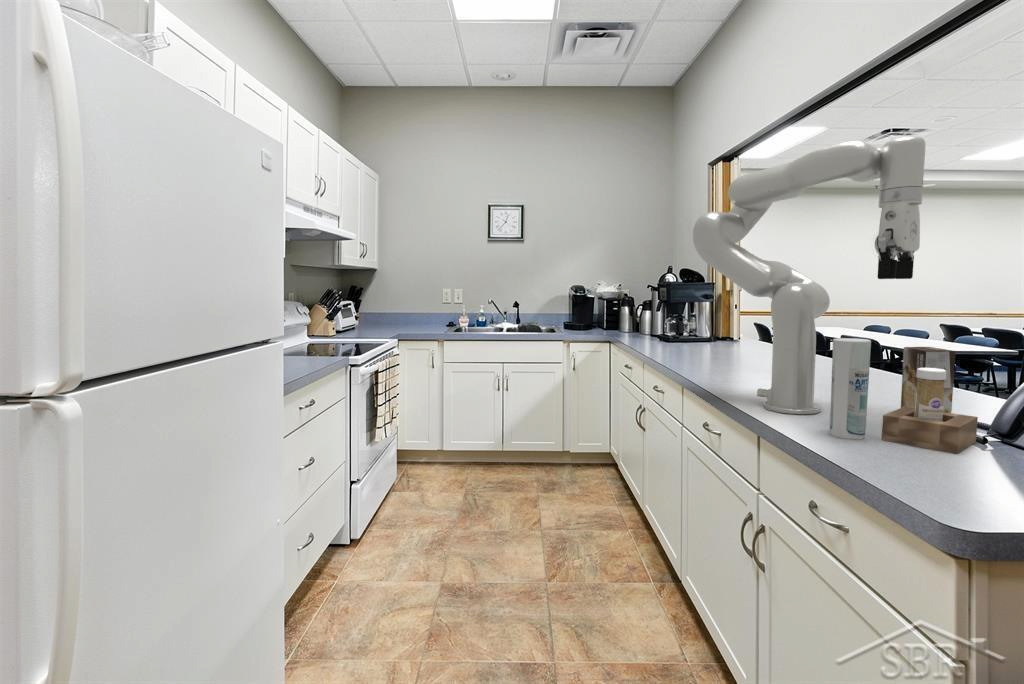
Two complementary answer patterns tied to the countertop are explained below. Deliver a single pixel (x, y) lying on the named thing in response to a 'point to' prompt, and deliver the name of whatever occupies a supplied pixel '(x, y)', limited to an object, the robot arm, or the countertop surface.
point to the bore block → (930, 430)
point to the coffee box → (926, 359)
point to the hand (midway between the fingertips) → (895, 278)
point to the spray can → (849, 387)
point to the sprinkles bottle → (930, 393)
